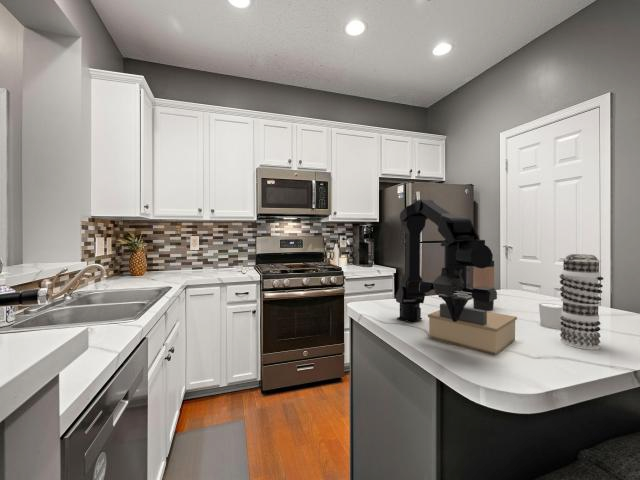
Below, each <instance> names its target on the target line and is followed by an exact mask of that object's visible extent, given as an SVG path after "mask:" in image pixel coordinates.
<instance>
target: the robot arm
mask: <svg viewBox="0 0 640 480" xmlns="http://www.w3.org/2000/svg"><path fill="white" fill-rule="evenodd" d="M399 213H400V214H399V219H400V227H401V228H402V230H403V232H404V234H405V259H404V260H405V265H404V267H405V268H404V269H405V270H404V272H405V273H404V275H403V277H402V278H401V280H400V282H399V283H400V284H399V288H398V290H397V292H396V294H395V301H396V303H399V316H398V317H397V318H396V320H400V321H404V322H408V323H416V322H419V321H422V320H423V317H422V309H421V306H420V305H421V304H424V302H425V297H426V293H429V294H430V292H432V291H433V292H434V294H436V295H437V297H438V298H441V299H442V300H443V301H444V303H445V304H447V307H448V309H449V312H450V315H451V317H452V320H453V322H457V321H458V319H459V317H460V315H461V313H462V311H463V308H464V307H466V305H467V303H468V302H469V301H470V300H473V299H474V300H477V301H483V302H491V301H493V300H494V301H495V300H497V299H498V292H497V289H495V287H494V288H490V287H482V286H479V287H476V288H473V287H472V288H471V287H470V282H468V272H470V267H471V268H473V267H475V268H486V267H488V266H489V265H490V263H491V262H492V260H493V258H494V257H493V256H494V255H493V253H492V250H491V248H490V247H489V246H487V245H486V240H485V239H480V235H479V234H478V232H477V231H476V229H475V227H474V225H473V222H472V220H471V219H470V218H469V217H466V216H463V215H458V214H453V213H451V212H450V211H448V210H446V209H444V208H443V207H441V206H440V205H438V204H436V203H435V202H434V200H431V199H425V198H424V199H423V198H422V199H420V198H419V199H417V200H416V201H415V202H414V203H411V204H410V205H407V206H405V207H404V208H403V209H402V210H401V212H399ZM427 220H429V221H431V222H433V223H434V224H435V225H436V226H437V232H438V234H440V235H441V237H442V238H443V239H444V240H443V241H442V242H440V246H441V247H444V248H443V250H444V254H443V255H444V256H443V257H444V260H443V261H444V263H443V264H444V265H443V266H444V267H441V274H440V275H438V276H437V277H436V278H435V279H434V280H433V279H426V280H424V279H423V278H422V277H421V275H420V274H421V272H420V270H421V269H420V268H421V234H422V232H423V230H424V229H425V227H426V221H427Z"/></svg>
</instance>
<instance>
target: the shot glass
mask: <svg viewBox="0 0 640 480" xmlns="http://www.w3.org/2000/svg"><path fill="white" fill-rule="evenodd" d="M538 308H539V319H540V326H542V327H544V328H548V329H555V330H557V329H559V330H560V328H561V327H563V326H562V325H561V322H562V321H563V320H561V318H560V317H561V316H562V310H563V305H561V304H555V303H551V302H550V303H547V302H542V303H538Z"/></svg>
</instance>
